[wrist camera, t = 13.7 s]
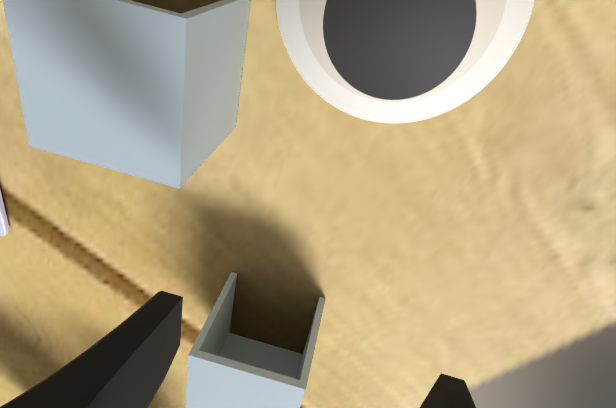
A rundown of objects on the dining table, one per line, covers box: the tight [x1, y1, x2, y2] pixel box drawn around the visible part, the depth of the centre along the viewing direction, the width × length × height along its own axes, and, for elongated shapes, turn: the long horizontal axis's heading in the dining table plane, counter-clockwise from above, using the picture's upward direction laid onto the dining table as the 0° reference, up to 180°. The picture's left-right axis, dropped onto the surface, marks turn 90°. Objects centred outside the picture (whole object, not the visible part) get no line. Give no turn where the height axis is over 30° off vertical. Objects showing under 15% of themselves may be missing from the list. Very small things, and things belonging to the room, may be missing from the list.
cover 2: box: [185, 272, 325, 408], centre depth 24 cm, size 6×6×6 cm
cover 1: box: [3, 0, 250, 189], centre depth 16 cm, size 6×6×6 cm
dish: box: [276, 0, 535, 123], centre depth 16 cm, size 9×9×1 cm
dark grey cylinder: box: [323, 0, 477, 100], centre depth 13 cm, size 4×4×4 cm
